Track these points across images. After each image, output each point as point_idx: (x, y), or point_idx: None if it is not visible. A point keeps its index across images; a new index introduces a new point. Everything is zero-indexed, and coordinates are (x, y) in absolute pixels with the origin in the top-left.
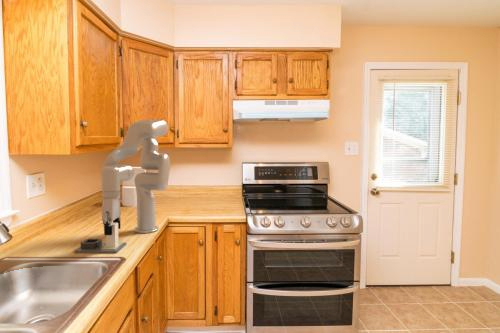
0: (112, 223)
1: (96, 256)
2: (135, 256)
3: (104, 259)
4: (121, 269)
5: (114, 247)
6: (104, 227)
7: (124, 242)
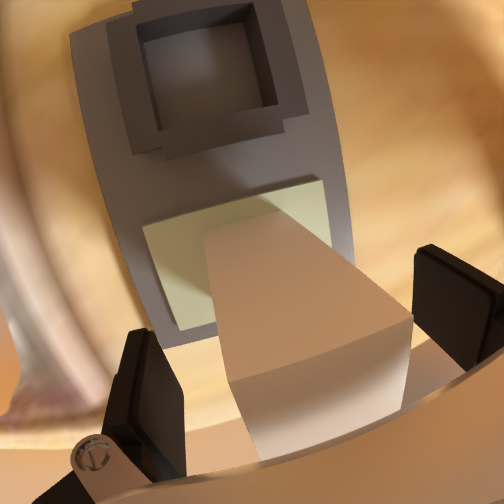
0: (348, 407)
1: (59, 254)
2: None
3: (49, 336)
4: (32, 441)
5: (208, 306)
6: (112, 414)
7: None
